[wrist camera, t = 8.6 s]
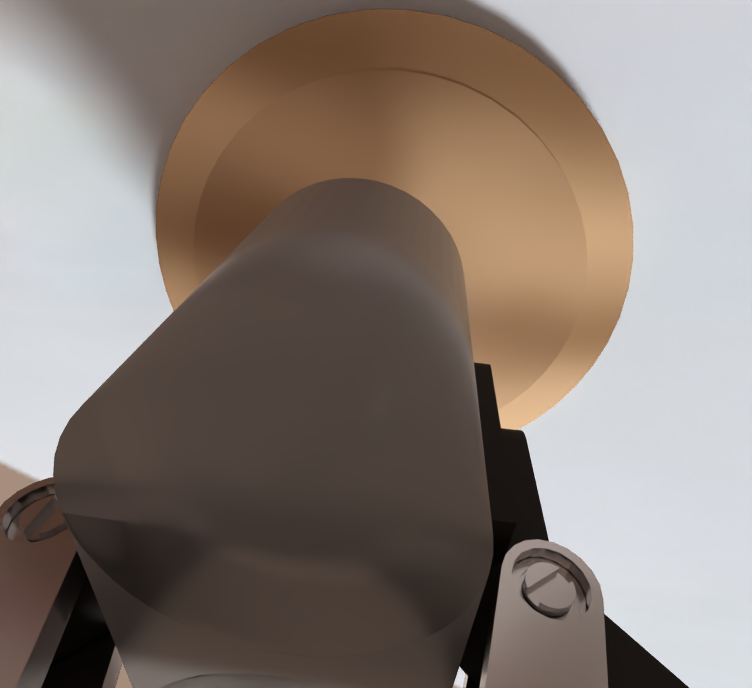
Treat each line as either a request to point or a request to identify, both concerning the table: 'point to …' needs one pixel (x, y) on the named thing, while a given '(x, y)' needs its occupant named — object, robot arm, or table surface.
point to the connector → (294, 461)
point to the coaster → (422, 178)
